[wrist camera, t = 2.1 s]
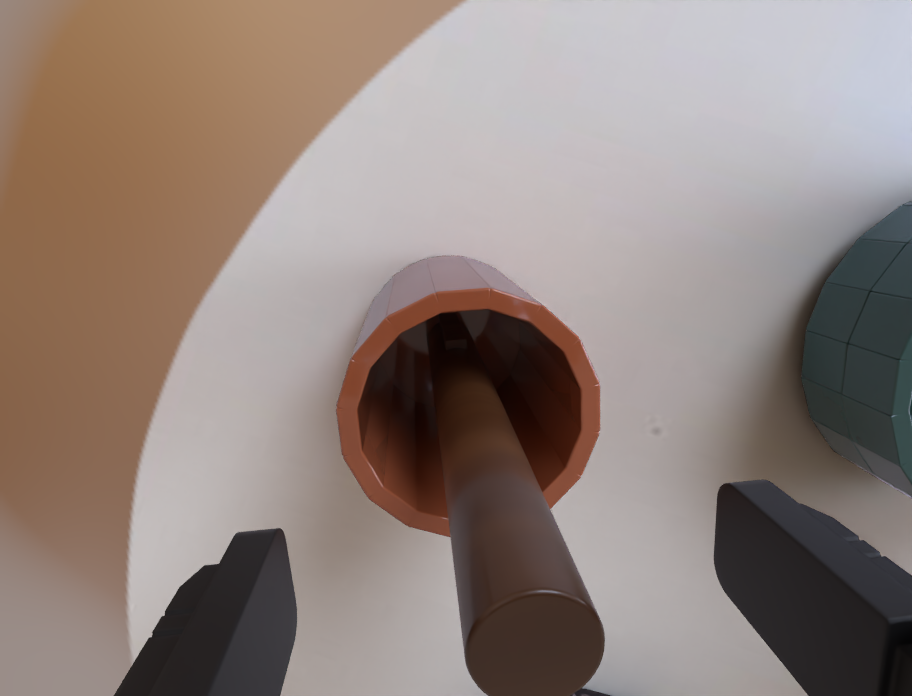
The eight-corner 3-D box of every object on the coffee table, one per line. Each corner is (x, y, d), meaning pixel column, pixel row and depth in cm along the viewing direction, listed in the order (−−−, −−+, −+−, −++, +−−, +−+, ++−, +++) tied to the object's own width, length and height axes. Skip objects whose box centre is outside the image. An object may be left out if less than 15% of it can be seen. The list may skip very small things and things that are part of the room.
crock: (356, 262, 24) (321, 301, 15) (526, 249, 25) (600, 278, 15) (374, 422, 26) (354, 549, 17) (532, 407, 27) (601, 523, 17)
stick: (424, 314, 25) (459, 580, 7) (469, 310, 25) (607, 564, 7) (429, 370, 25) (470, 734, 8) (472, 366, 25) (606, 716, 8)
